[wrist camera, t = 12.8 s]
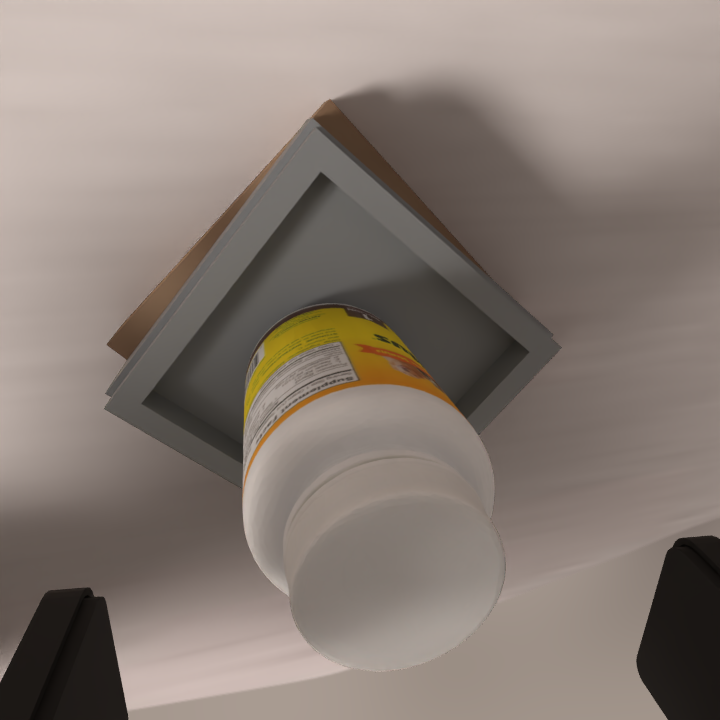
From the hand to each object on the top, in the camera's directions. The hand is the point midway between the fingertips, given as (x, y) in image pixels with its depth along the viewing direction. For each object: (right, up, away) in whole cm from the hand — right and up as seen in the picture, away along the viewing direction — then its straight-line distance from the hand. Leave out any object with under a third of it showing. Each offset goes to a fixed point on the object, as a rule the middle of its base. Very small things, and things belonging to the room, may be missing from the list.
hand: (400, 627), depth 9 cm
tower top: (-2, +5, +13) cm, 14 cm away
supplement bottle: (-2, +4, +10) cm, 11 cm away
